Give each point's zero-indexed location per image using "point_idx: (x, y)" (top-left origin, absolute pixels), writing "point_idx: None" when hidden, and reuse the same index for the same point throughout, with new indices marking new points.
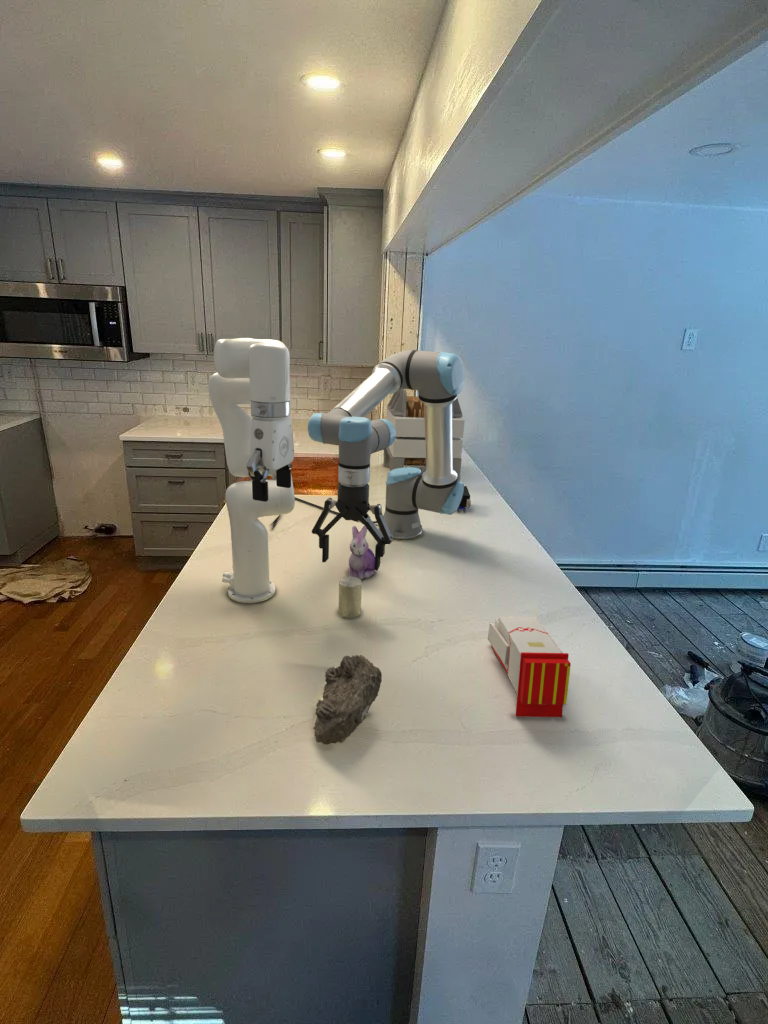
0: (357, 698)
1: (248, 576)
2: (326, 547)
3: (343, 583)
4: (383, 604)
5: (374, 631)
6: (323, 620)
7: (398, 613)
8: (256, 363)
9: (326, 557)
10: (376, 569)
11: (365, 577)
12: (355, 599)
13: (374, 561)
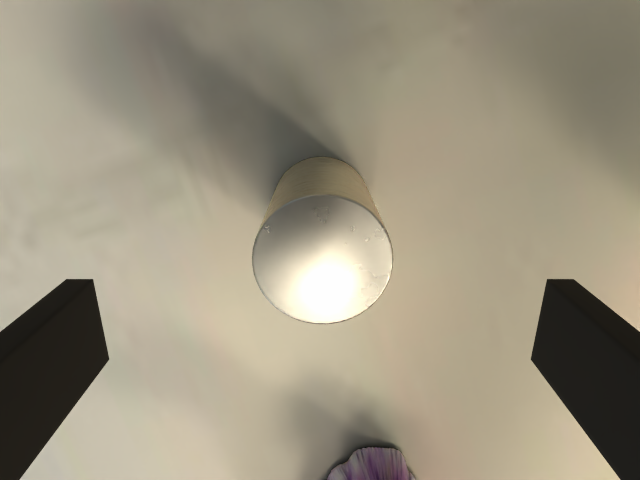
0: None
1: None
2: (626, 396)
3: (356, 224)
4: (210, 308)
5: (166, 85)
6: (413, 103)
7: (127, 261)
8: None
9: (557, 328)
10: (69, 283)
11: (341, 465)
12: (278, 192)
13: None
